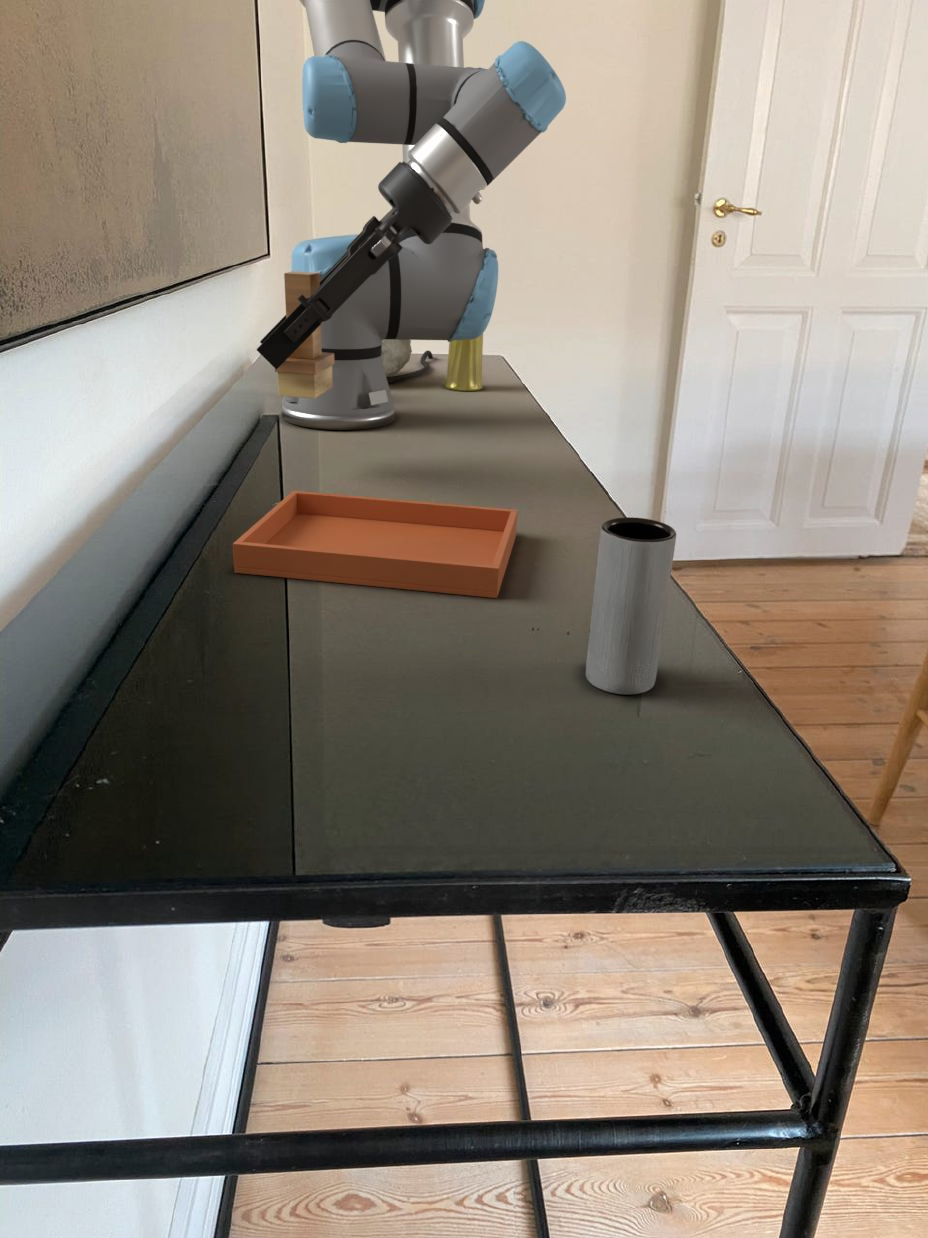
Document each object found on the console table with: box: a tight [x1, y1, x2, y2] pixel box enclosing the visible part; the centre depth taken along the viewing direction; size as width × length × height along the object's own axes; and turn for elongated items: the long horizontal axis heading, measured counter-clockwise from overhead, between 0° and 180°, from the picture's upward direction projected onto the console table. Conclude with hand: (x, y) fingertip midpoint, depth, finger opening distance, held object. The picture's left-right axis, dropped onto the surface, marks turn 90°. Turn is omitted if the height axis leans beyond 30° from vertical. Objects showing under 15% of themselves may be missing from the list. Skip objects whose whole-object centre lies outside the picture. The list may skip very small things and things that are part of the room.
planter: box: [585, 516, 677, 696], centre depth 58 cm, size 4×4×10 cm
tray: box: [232, 490, 519, 599], centre depth 80 cm, size 15×21×2 cm
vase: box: [444, 333, 484, 392], centre depth 149 cm, size 6×6×14 cm
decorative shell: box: [382, 339, 413, 378], centre depth 153 cm, size 18×18×10 cm
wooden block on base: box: [274, 271, 334, 399], centre depth 97 cm, size 6×4×12 cm
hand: (268, 354), depth 97 cm, fingers closed on wooden block on base, 4 cm apart
